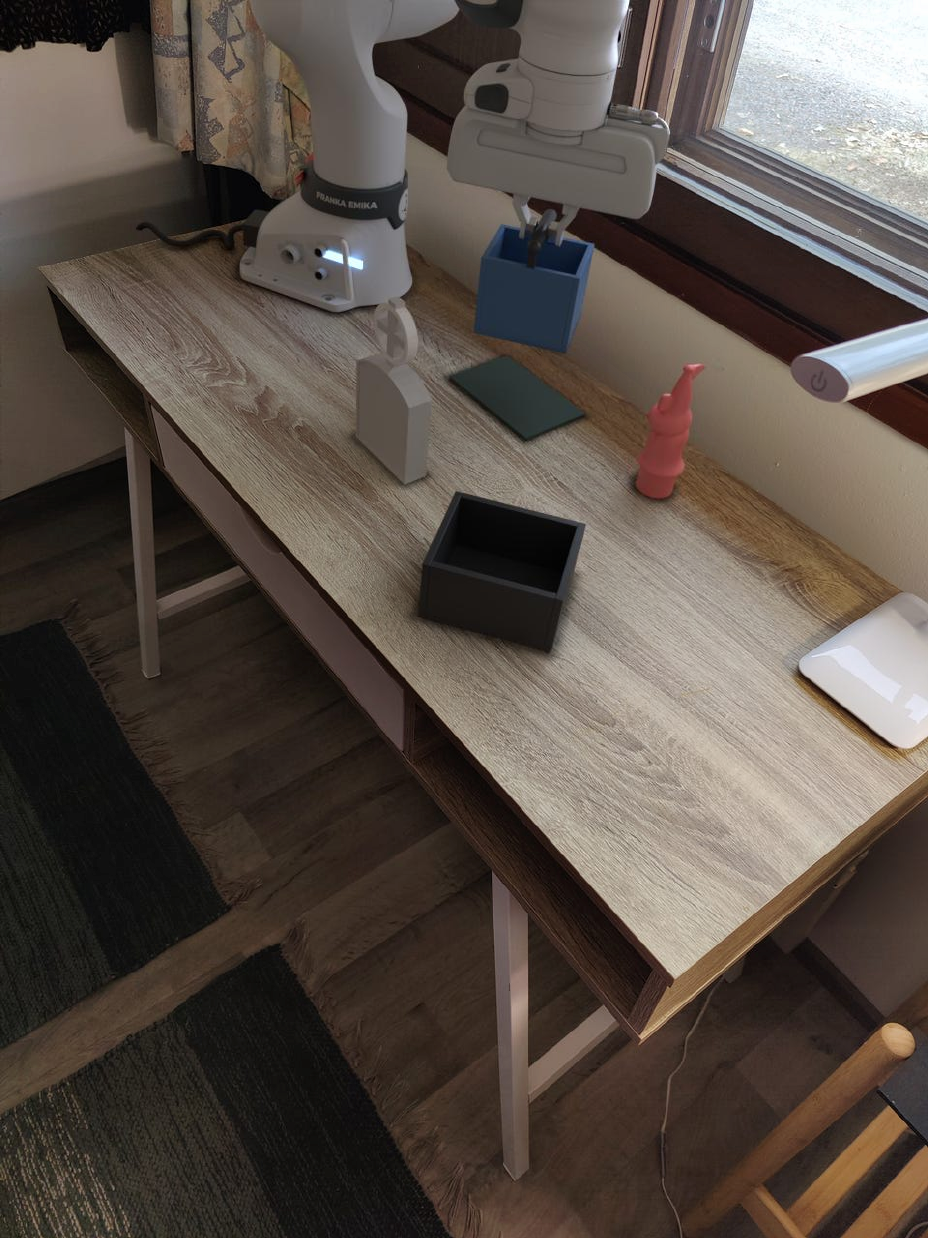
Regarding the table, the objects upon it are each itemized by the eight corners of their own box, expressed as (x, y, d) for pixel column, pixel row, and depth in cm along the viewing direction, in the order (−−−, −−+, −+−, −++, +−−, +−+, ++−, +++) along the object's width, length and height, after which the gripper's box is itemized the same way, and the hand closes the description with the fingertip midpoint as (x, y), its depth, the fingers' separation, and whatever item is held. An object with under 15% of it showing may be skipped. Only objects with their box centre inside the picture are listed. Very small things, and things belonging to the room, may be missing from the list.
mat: (448, 378, 112) (449, 375, 112) (506, 357, 117) (507, 354, 116) (525, 441, 106) (526, 438, 105) (584, 416, 110) (585, 413, 110)
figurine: (648, 464, 105) (684, 343, 94) (686, 487, 103) (727, 366, 92) (620, 483, 102) (653, 360, 91) (658, 507, 100) (697, 385, 89)
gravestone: (376, 428, 105) (381, 274, 91) (426, 475, 100) (438, 320, 87) (355, 436, 103) (357, 280, 90) (404, 484, 99) (413, 327, 85)
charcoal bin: (417, 616, 86) (422, 563, 81) (449, 543, 93) (455, 490, 88) (550, 652, 85) (563, 601, 80) (573, 575, 92) (586, 523, 87)
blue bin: (472, 334, 102) (482, 232, 94) (493, 295, 108) (504, 196, 100) (565, 355, 101) (584, 254, 92) (581, 315, 107) (600, 216, 98)
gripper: (679, 103, 88) (645, 248, 98) (466, 62, 91) (454, 207, 101) (670, 127, 84) (635, 275, 94) (447, 83, 86) (437, 232, 96)
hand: (540, 239), depth 97 cm, fingers closed on blue bin
